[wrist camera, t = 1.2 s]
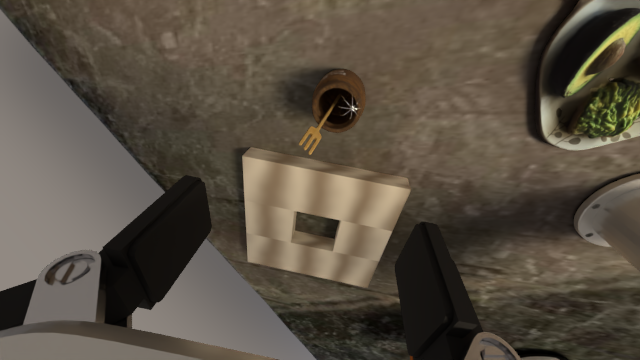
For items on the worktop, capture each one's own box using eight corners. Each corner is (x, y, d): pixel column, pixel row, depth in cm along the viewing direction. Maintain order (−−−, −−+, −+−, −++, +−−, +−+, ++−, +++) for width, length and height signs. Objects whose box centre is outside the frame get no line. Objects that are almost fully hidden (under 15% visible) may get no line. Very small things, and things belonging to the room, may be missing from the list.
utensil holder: (375, 95, 29) (382, 130, 19) (337, 126, 32) (326, 171, 22) (344, 55, 27) (334, 72, 17) (306, 93, 30) (280, 126, 20)
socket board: (407, 178, 35) (411, 189, 32) (366, 274, 48) (367, 287, 46) (250, 147, 36) (242, 156, 33) (253, 249, 49) (247, 261, 47)
